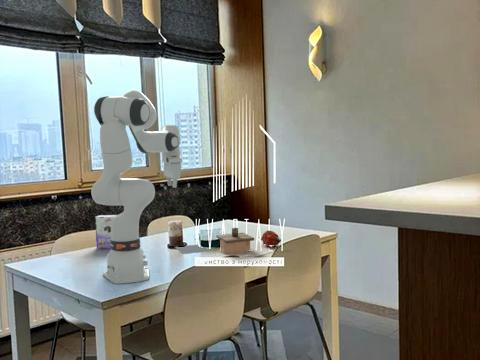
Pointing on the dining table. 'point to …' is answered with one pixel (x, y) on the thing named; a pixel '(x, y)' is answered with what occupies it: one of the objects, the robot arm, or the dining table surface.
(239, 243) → the bowl
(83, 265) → the dining table surface
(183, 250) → the mat
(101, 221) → the candy box
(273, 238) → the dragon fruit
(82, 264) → the dining table surface
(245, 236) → the lid
